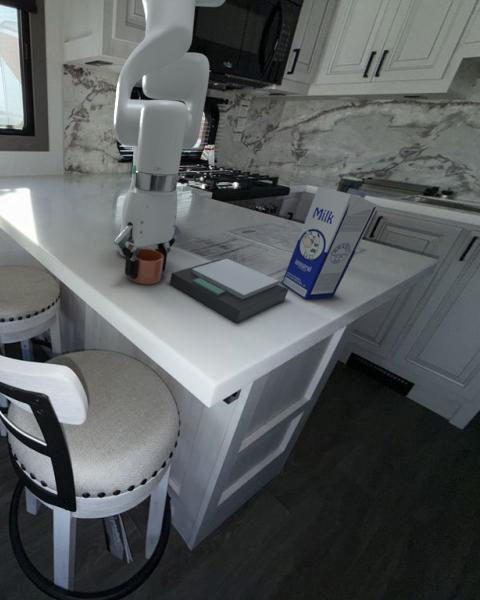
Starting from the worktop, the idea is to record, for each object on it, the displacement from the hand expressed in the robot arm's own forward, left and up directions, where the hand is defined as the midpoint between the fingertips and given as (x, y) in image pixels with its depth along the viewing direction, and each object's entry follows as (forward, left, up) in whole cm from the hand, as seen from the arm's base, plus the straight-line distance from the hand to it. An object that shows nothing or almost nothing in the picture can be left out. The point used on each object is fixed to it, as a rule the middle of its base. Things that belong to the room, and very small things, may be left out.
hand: (145, 271), depth 64 cm
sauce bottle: (+14, +44, -1) cm, 46 cm away
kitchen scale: (+13, +10, -1) cm, 16 cm away
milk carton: (+21, +26, -1) cm, 33 cm away
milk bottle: (-11, +6, -1) cm, 13 cm away
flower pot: (0, 0, -1) cm, 1 cm away
